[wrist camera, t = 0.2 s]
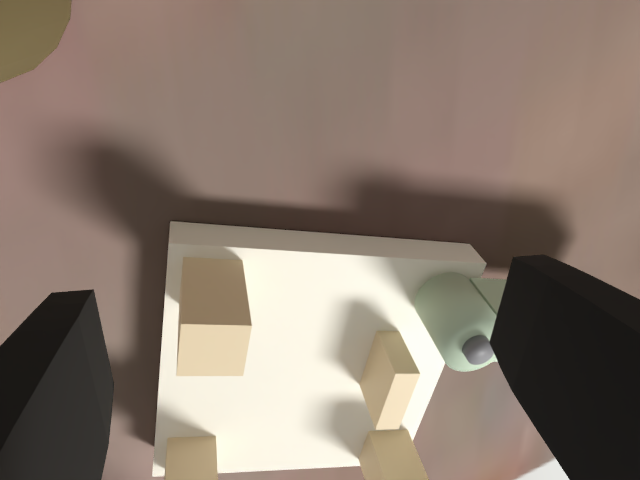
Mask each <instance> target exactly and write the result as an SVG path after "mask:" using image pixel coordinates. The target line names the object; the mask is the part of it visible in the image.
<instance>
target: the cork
mask: <svg viewBox="0 0 640 480" xmlns="http://www.w3.org/2000/svg"><path fill="white" fill-rule="evenodd" d="M70 14H71V0H0V83H1V82H4V81H6V80H9V79H11V78H14V77H16V76H18V75H21V74H23V73H26V72H28V71H31V70H33V69H35V68H36V67H37V66H38V65H39V64H40V63H41V62H42V61H43V60H44V59H45V58H46V57H47V56H48V55H49V54H51V53H52V52H53V51H54V50H55V49H56V48H57V46H58V44H59V42H60V39H61V37H62V35H63V33H64V31H65V28H66V26H67V24H68V22H69V20H70Z"/></svg>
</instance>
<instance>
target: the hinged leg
mask: <svg viewBox="0 0 640 480" xmlns="http://www.w3.org/2000/svg"><path fill="white" fill-rule="evenodd" d="M506 281H507V280H504V279H486V278H470V279H468V278H467V277H466V276H464V275H462V274H460V273H455V272H448V273H442V274H439V275H437V276H435V277H433V278H431V279H430V280H428V281H427V282H426V283H425V284H423V286H422V287H421V288H420V289H419V291H418V293H417V295H416V297H415V302H414V304H415V310H416V312H417V314H418V316H419V317H420V319H421V321H422V323H423V324H424V326H425V328H426V330H427V331H428V333H429V335H430V337H431V338H432V340H433V342H434V344H435V346H436V347H437V349H438V351H439V353H440V354H441V356H442V358H443V360H444V361H445V363H446V364H447V366H449V367H450V368H451V369H453V370H457V371H473V370H477V369H480V368H482V367H484V366H486V365H488V364H489V363H491V362H498V361H497V359H496V356H495V354H494V352H493V350H492V348H491V345H490V343H489V342H490V338H491V334H492V331H493V327H494V324H495V320H496V317H497V313H498V309H499V306H500V302H501V299H502V295H503V292H504V288H505V284H506ZM611 286H612V285H611Z"/></svg>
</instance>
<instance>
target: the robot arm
mask: <svg viewBox="0 0 640 480" xmlns="http://www.w3.org/2000/svg"><path fill="white" fill-rule="evenodd" d="M489 343H490V345H491V348H492V350H493V352H494V354H495V356H496V359H497V361H498V363H499V365H500V368H501V370H502V372H503V374H504V376H505V378H506V380H507V382H508V384H509V386H510V388H511V390H512V391H513V393H514V395H515V396H516V398H517V399H518V401H519V403H520V404H521V406H522V407H523V409H524V410H525V412H526V414H527V415H528V417H529V418H530V420H531V421H532V423H533V424H534V426H535V428H536V429H537V431H538V432H539V434H540V435H541V437H542V438H543V440H544V441H545V443H546V444H547V446H548V447H549V449H550V450H551V452H552V453H553V455H554V456H555V458H556V459H557V461H558V462H559V464H560V465H561V467H562V469H563V470H564V472H565V473H566V475H567V476H568V478H569V479H570V480H640V299H637V298H635V297H633V296H631V295H629V294H627V293H625V292H623V291H621V290H619V289H617V288H615V287H613V286H611V285H609V284H607V283H605V282H603V281H601V280H599V279H597V278H595V277H593V276H591V275H589V274H587V273H585V272H583V271H580V270H578V269H576V268H574V267H572V266H570V265H567V264H565V263H563V262H560V261H558V260H556V259H553V258H551V257H548V256H545V255H533V256H520V257H513V259H512V263H511V267H510V270H509V274H508V277H507V281H506V284H505V288H504V292H503V295H502V299H501V302H500V306H499V309H498V313H497V317H496V320H495V324H494V327H493V331H492V334H491V338H490V342H489ZM113 390H114V382H113V377H112V373H111V368H110V363H109V359H108V354H107V349H106V345H105V340H104V335H103V331H102V326H101V321H100V317H99V312H98V307H97V303H96V298H95V293H94V290H81V291H68V292H56V293H51V294H50V295H49V296H48V297H47V298H46V299H45V300H44V301H43V302H42V303H41V304H40V305H39V306H38V307H37V308H36V309H35V310H34V311H33V312H32V313H31V314H30V315H29V316H28V317H27V319H26V320H25V321H24V322H23V323H22V324H21V325H20V326H19V327H18V328H17V329H16V330H15V331H14V332H13V333H12V334H11V335H10V336H9V337H8V338H7V340H6V341H5V342H4V343H3V344H2V345H1V346H0V480H101V478H102V473H103V468H104V464H105V459H106V454H107V449H108V444H109V435H110V425H111V415H112V402H113Z"/></svg>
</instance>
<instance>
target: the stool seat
mask: <svg viewBox="0 0 640 480" xmlns="http://www.w3.org/2000/svg"><path fill="white" fill-rule="evenodd" d="M486 264H487V263H486V262H485V261H484V260H483V259H482V258H481V256H480V255H479V254H478V253H477V252H476V251H475V249H474V248H473V247H472V246H471V245H470V244H466V243H453V242H439V241H426V240H413V239H400V238H386V237H373V236H360V235H347V234H333V233H320V232H307V231H294V230H280V229H267V228H254V227H241V226H227V225H214V224H201V223H188V222H174V221H170V231H169V244H168V259H167V273H166V288H165V302H164V316H163V331H162V345H161V359H160V374H159V388H158V403H157V417H156V431H155V446H154V460H153V474H152V477H155V476H164V480H218V473H232V472H251V471H270V470H289V469H308V468H327V467H346V466H361V469H362V472H363V476H364V479H365V480H429V479H428V477H427V474H426V472H425V470H424V467H423V465H422V462H421V460H420V458H419V455H418V453H417V451H416V448H415V446H414V443H413V439H414V436H415V434H416V431H417V429H418V427H419V424H420V422H421V419H422V417H423V415H424V412H425V410H426V407H427V405H428V403H429V400H430V398H431V396H432V393H433V391H434V388H435V386H436V384H437V381H438V379H439V376H440V374H441V372H442V369H443V367H444V364H445V361H444V360H443V358H442V356H441V354H440V353H439V351H438V349H437V347H436V346H435V344H434V342H433V340H432V338H431V337H430V335H429V333H428V331H427V330H426V328H425V326H424V324H423V323H422V321H421V319H420V317H419V316H418V314H417V312H416V310H415V304H414V302H415V297H416V295H417V293H418V291H419V289H420V288H421V287H422V286H423V284H425V283H426V282H427V281H428V280H430V279H431V278H433V277H435V276H437V275H439V274H442V273H448V272H455V273H460V274H462V275H464V276H466V277H467V278H468V279H470V278H481V276H482V274H483V271H484V269H485V266H486Z"/></svg>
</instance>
